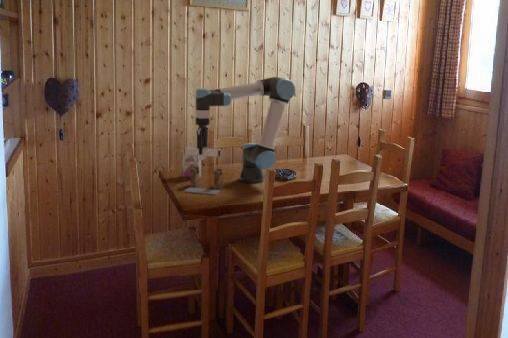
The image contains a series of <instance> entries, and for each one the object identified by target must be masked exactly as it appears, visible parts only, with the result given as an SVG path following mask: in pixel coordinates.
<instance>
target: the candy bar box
mask: <svg viewBox="0 0 508 338" xmlns="http://www.w3.org/2000/svg"><path fill="white" fill-rule="evenodd" d="M194 166H197V167H199V179H201V178H202V160H198V155H188V154H184V150H182V151H181V177H182V178H189V179H191V169H194Z"/></svg>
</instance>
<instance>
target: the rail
mask: <svg viewBox="0 0 508 338" xmlns="http://www.w3.org/2000/svg"><path fill="white" fill-rule="evenodd" d="M203 149H204V156H206V157H215V158H219V157H220V156H221V153H222V152H221V149H217V148H216V149H215V148H208V147H206V148H203ZM183 151H184V154H188V155H198V152H199V149H197V147H194V146H192V147H191V146H186V147H184V148H183Z"/></svg>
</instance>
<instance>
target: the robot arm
mask: <svg viewBox="0 0 508 338" xmlns="http://www.w3.org/2000/svg"><path fill="white" fill-rule="evenodd" d="M295 93H296V86H295V84H294V81H292V80H290V79H289V78H285V77H278V76H277V77H276V76H274V77H272V76H270V77H267V78H263V79H259V80H258V79H257V81H256V82H250V83H246V84H240V85H235V86H234V85H233V86H228V87H227V86H226V87H222V88H216V89H209V88H197V89H196V90H195V111H194V113H195V117H196V118H195V125H197V126H198V128H197V130H196V148H197V149H199V152H198V160H201V161H204V160H206V159H207V156H204V149H203V148H208V146H209V145H208V132H209V127H207V126H209V125H210V116H211V115H210V113H211V112H210V111H211V110H210V108H211V107H228V106H230V105H231V102H232V100H238V99H244V98H250V97H255V96H259V97H267V96H268V101H270V102H269V103H270V104H269V107H268V111H267V115H266V118H265V121H264V126H263V129H262V133H261V136H260V140H259V141H258V142H248V143H247V142H246V143H244V144H243V145H242V168H241V170H240V173H239V177H238V178H239V181H241V182H244V183H252V184H253V183H262V182H263V181H264V180H265V178H264V177H265V176H264V173H263V170H266V171H267V170H269V169H271V168H273V167H274V165H275V164H276V163H277V162H276V161H277V156H276V154H275V153H276V152H275V151H276V147H275V143H276V139H277V135H278V131H279V128H280V125H281V121H282V116H283V114H284V111H285V107H286V106H287V105H288V104H289V101H290V99H292V98H293V97H294V96H295ZM261 181H262V182H261Z"/></svg>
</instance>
